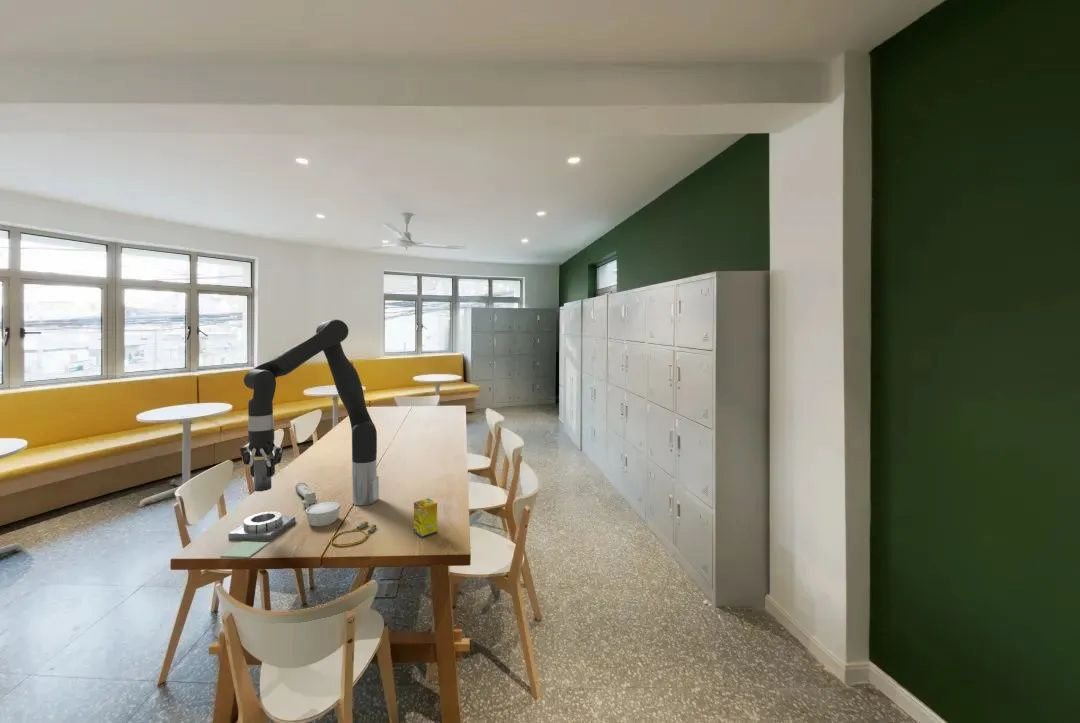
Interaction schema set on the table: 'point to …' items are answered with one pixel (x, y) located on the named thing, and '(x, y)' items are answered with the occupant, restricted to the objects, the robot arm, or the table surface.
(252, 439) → the robot arm
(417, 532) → the supplement box
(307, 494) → the white stepped bar
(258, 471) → the dark grey cylinder
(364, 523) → the extension cord
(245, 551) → the mat
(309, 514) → the ramekin
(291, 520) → the chuck block
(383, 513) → the table surface
